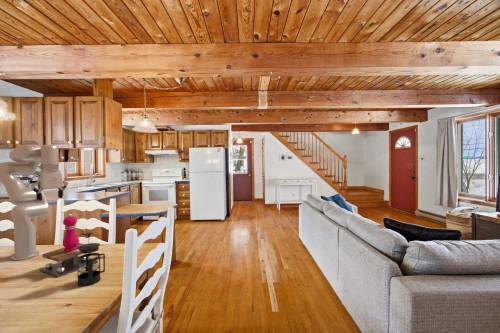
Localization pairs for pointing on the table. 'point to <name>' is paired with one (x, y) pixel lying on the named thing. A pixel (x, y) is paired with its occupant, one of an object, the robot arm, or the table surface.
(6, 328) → the table surface
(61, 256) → the board
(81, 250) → the french press
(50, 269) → the board stand
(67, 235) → the pepper mill
